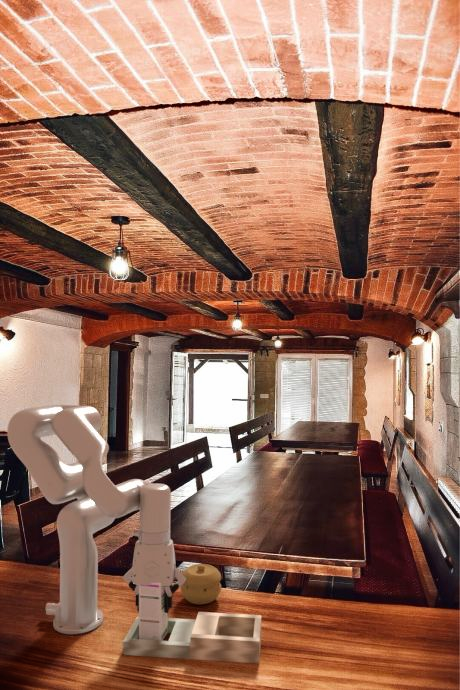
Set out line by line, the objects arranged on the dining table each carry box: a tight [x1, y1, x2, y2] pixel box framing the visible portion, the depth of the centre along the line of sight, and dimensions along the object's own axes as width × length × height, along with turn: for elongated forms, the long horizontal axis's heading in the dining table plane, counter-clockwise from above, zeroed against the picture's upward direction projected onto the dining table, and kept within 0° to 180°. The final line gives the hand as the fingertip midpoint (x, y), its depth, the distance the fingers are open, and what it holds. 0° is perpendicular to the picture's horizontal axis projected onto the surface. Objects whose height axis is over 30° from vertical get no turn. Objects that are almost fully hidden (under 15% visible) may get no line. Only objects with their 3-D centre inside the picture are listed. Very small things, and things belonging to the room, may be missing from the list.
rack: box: [122, 611, 262, 665], centre depth 125 cm, size 32×12×5 cm, turn 84°
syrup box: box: [138, 582, 169, 641], centre depth 127 cm, size 6×6×14 cm
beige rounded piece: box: [180, 563, 222, 605], centre depth 149 cm, size 12×12×10 cm
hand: (154, 608), depth 127 cm, fingers closed on syrup box, 6 cm apart
